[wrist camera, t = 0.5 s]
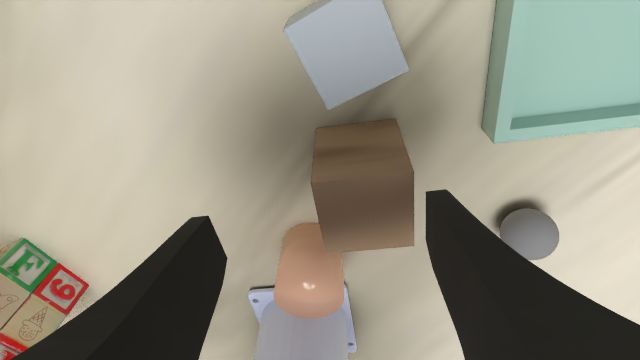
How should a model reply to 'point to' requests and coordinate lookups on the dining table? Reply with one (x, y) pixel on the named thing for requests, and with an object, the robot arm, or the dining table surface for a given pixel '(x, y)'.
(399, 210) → the walnut block
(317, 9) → the slate block
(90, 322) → the robot arm
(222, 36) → the dining table surface
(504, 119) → the teal tray
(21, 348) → the stack of blocks
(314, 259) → the peach rounded cylinder
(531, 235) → the grey ball
